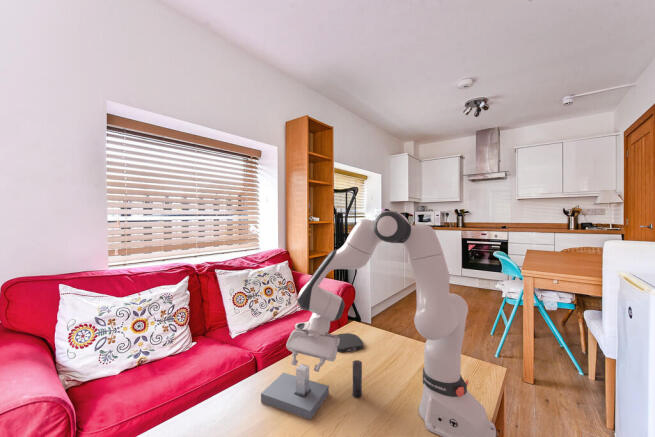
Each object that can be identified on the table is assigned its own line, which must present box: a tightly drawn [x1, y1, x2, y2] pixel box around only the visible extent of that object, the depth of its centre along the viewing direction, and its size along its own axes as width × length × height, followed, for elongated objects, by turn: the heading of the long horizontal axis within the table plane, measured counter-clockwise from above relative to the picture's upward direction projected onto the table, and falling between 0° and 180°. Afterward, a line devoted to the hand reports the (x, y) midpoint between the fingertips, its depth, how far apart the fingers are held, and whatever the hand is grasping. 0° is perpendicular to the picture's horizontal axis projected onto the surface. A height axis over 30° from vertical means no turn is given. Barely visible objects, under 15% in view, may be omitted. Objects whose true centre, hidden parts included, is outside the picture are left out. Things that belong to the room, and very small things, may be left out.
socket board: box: [260, 372, 330, 421], centre depth 99 cm, size 20×14×3 cm
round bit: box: [352, 359, 363, 399], centre depth 101 cm, size 3×3×12 cm
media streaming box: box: [336, 332, 364, 354], centre depth 139 cm, size 15×15×3 cm
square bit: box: [295, 363, 310, 398], centre depth 98 cm, size 3×3×12 cm
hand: (304, 367), depth 100 cm, fingers open, 8 cm apart
